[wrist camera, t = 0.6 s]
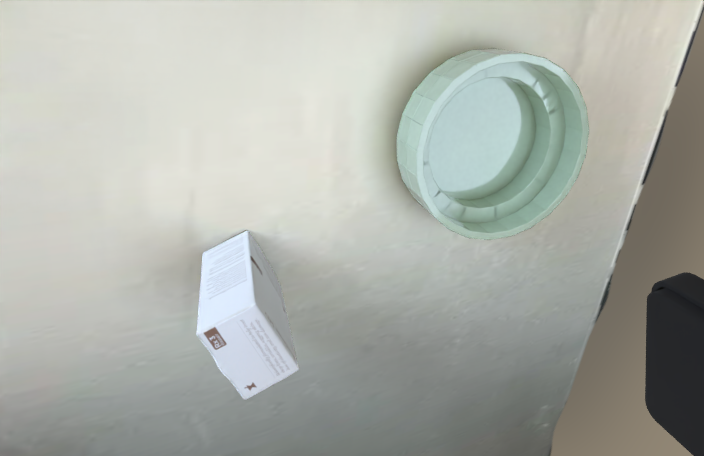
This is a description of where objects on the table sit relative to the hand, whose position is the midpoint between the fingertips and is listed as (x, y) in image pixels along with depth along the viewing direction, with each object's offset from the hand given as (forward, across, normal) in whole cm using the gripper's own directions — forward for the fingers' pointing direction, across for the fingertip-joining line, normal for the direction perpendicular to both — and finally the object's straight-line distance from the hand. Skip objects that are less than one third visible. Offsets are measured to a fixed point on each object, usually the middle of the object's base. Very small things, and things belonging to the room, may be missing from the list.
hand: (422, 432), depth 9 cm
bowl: (+34, -17, +7) cm, 38 cm away
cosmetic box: (+34, +5, +12) cm, 36 cm away
